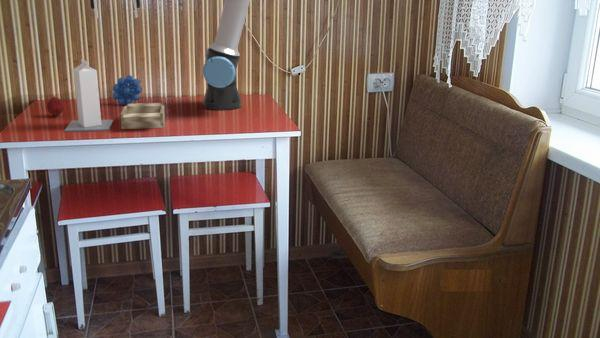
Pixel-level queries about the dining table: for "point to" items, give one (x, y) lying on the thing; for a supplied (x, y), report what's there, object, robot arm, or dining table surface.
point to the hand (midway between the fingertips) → (116, 18)
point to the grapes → (126, 90)
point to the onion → (55, 106)
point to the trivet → (76, 127)
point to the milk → (87, 95)
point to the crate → (143, 116)
